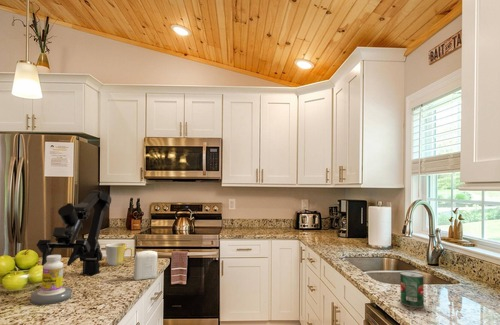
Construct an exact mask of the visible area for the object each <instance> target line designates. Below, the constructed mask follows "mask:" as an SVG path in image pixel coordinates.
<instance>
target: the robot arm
mask: <svg viewBox="0 0 500 325" xmlns="http://www.w3.org/2000/svg"><path fill="white" fill-rule="evenodd" d="M111 203H112V197H111V195H110V194H108V193H105V192H103V191H101V190H91V191H89V194H88V195H87V196H86V197H85V198H84V199H83V200H82V201H81V202H80V203H77V204H73V202H72V203H69V202H67V203H66V205H63V206H61V207H60V208H58V210H57V214H58V215H59V217H60V220H61V221H62V223H63V224H64V225H65V226H64V227H58V226H57V227H54V228H53V231H52V234H51V236H52V237H54V238H55V239H54V240H55V241H56V242H52V241H51V239H46V238H45V239H43V238H42V239H38V241H37V243H36V247H37V248H38V250H39V251H40V253H42V258H41V265H42V267H43V265H44V264H45V263H47V260H46V259H47V256H49V255H53V254H52V252H53V251H54V249H63V250H64V249H66V250H67V249H70V250H71V249H72V251H71V254H70V256H69V258H68V261H67V263H66V266H67V267H69V266H70V265H72V264H73V263H74V262H75V261H76V260H78V258H79V262H82V272H81V273H79V275H80V276H91V277H92V276H95V275H97V274H99V273H101V271H100V262H101V261H103V253H102V250H101V245H100V242H99V238H100V234H101V233H100V232H101V228H102V223H103V220H104V214H105V213H106V212H107V210H108V209H109V208H110V205H111ZM92 208H93V215H92V217H91V223H90V225H89V226H90V227H89V231H88V233H87V238H86V239H79V237H78V235H79V234H80V233H79V232H80V230H82V229H83V228H84V227H83V222H82V221H86V220H88V218H89V217H90V215H91V209H92ZM83 230H84V229H83Z"/></svg>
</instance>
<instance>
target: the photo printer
mask: <svg viewBox="0 0 500 325" xmlns="http://www.w3.org/2000/svg"><path fill="white" fill-rule="evenodd" d="M133 268H134V269H133V280H135V281H140V280H141V281H142V280H148V279H155V278H157V274H158V251H154V250H141V251H139V252H137V253H135V256H134V266H133Z"/></svg>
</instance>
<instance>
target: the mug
mask: <svg viewBox="0 0 500 325" xmlns="http://www.w3.org/2000/svg"><path fill="white" fill-rule="evenodd" d="M126 250H130V251H131V252H130V253H131V254H130V257H127V258H125V254H126ZM105 255H106V263H107V264H108V265H109V266H111V267H113V266H114V267H116V266H120V265H122V264H123V262H124V261H129V260H132V259H133V255H134V249H133V247H130V246H129V247H127V243H124V242H113V243H107V244H105Z"/></svg>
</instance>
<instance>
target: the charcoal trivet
mask: <svg viewBox="0 0 500 325" xmlns="http://www.w3.org/2000/svg"><path fill="white" fill-rule="evenodd" d="M41 290H42V288H40V289H37V290H35V291H33V292H31V293H30V297H29V298H30V299H29V301H30V302H29V303H30V304H31V305H34V306H36V305H37V306H48V305H49V306H50V305H56V304H59V303H64V302H65V301H68V300H70V299H71V298H72V287H70V286H63V285H62V289H61V290H60V291H59V292H56V293H43V292H42V291H41Z"/></svg>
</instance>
